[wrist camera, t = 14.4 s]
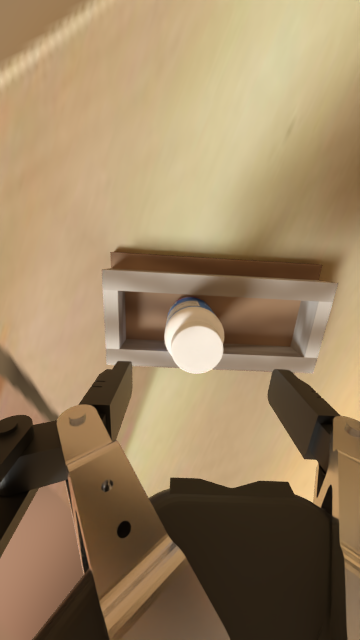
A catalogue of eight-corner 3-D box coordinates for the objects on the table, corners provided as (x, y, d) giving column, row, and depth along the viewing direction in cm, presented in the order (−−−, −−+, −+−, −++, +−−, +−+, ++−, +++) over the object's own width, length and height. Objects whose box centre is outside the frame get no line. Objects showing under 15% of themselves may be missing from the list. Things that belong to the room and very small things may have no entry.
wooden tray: (113, 252, 23) (100, 250, 19) (316, 264, 24) (343, 265, 20) (117, 361, 27) (107, 378, 23) (291, 368, 28) (309, 386, 24)
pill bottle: (216, 330, 25) (241, 372, 16) (175, 343, 25) (175, 391, 16) (204, 288, 23) (223, 307, 14) (161, 303, 24) (151, 330, 15)
